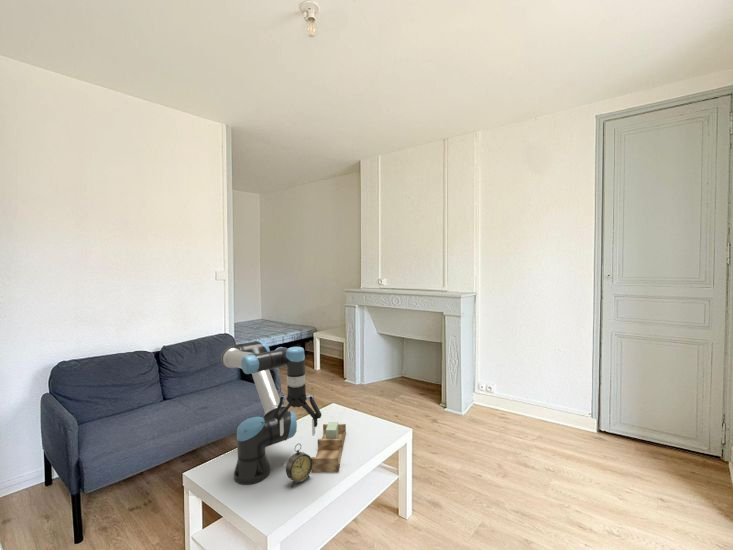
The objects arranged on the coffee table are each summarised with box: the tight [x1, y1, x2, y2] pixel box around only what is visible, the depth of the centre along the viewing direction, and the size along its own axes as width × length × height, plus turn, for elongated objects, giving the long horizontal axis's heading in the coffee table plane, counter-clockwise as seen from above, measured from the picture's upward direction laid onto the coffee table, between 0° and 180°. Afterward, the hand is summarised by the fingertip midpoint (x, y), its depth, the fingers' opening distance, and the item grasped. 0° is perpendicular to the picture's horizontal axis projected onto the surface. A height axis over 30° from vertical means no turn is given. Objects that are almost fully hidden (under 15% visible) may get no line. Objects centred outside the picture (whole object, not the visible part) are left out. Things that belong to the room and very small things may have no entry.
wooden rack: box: [310, 423, 347, 473], centre depth 171 cm, size 12×33×6 cm, turn 178°
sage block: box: [326, 421, 339, 439], centre depth 179 cm, size 5×9×8 cm, turn 178°
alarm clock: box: [285, 443, 312, 488], centre depth 148 cm, size 11×5×16 cm, turn 134°
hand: (297, 434), depth 148 cm, fingers open, 13 cm apart
